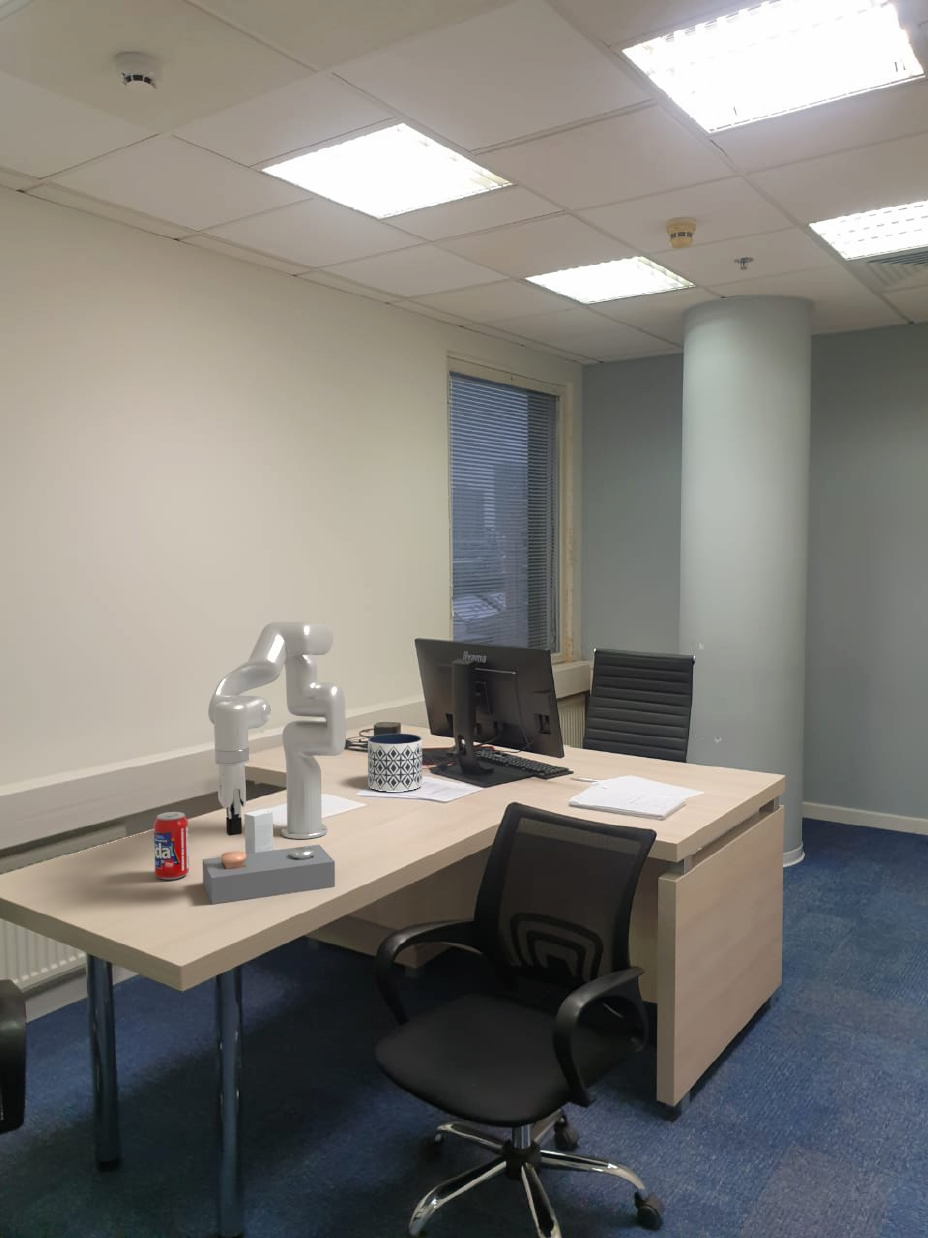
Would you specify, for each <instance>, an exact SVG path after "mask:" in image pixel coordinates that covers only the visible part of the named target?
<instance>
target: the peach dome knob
mask: <svg viewBox="0 0 928 1238" xmlns="http://www.w3.org/2000/svg"><path fill="white" fill-rule="evenodd" d="M220 857H221V862H222V863H223V866H224V868H225V869H232V868H239V867H244V861H246V853H245V852H244V851H239V850H238V851H237V850H235V851H227V852H224V853H223V854H221V856H220Z"/></svg>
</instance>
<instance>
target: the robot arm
mask: <svg viewBox="0 0 928 1238" xmlns="http://www.w3.org/2000/svg"><path fill="white" fill-rule="evenodd" d="M333 644H334V635H333V631H332V629H331V626H329V625H328V624H326V623H324V622H323V623H320V622H312V621H311V622H309V621H308V622H307V621H273V622H269V623H267V624H266V625H265V626H264V627H263V629H262V630H261V632H260V634H259V636H258V639H257V640H256V644H255V645H254V648H253V650H252V652H251V654H250V656H249V658H248V659H247V660H248V661H246V662H244V663H243V664H241V665H239V666H238V667H236V668H235V669H232V671H231V672H229V673H227V674H226V675H225V676H224V677H223V678H222V679H221V680H220V681H219V682H218V684H217V686H216V688H215V689H214V692H213V694H212V696H211V699H210V701H209V704H208V708H207V709H208V711H207V713H208V714H207V715H208V718H209V721H210V722H211V724H212V725H213V726H214V727H213V730H214V731H213V733H214V735H213V736H214V760H215V761H214V764H215V765H217V766H218V774H217V775H218V777H217V778H218V779H217V795H218V796H217V798H218V801H219V803H220V805H221V806H222V807H223V808H224V810H225V811H226V813H225V814H226V817H225V819H226V820H225V822H226V823H225V824H226V826H225V827H226V834H227V835H228V836H229V837H230V836H238V835H242V834H243V826H242V825H243V823H242V821H243V819H242V808H244V807H245V806H246V804H247V798H246V797H247V796H246V795H247V792H246V791H247V790H246V789H247V787H246V785H247V784H246V772H245V771H246V768H245V764H247V763H249V762H250V756H249V755H250V754H249V753H250V751H249V746H250V745H249V730H252V729H259V728H262V726H265V724H267V723H268V721H269V719H270V717H271V714H272V713H271V711H272V709H271V705H270V703H269V702H268V700H267V699H265V698H264V697H261V696H259V695H257V696H256V695H242V694H243V693H246V692H247V691H250V690H253V689H257V688H260V687H263V686H265V685H268V684H271V683H273V682H275V681H276V680H277V679H278V678H279V677H280V676H281V673H282V671H283V668H284V670H285V690H286V694H285V695H286V706H287V710H288V712H289V713H290V714H291V715H293V716H296V717H309V718H310V717H311V718H324V719H325V721H324V720H306V719H305V720H303V719H301V720H293V721H290V722H289V723H287V724H285V726H284V727H283V730H282V735H281V737H282V738H281V739H282V745H283V750H284V757H285V767H286V768H285V770H286V774H285V775H286V825H285V826H284V827H283V828H282V829H281V835H282V836H283V837H285V838H288V839H292V840H293V839H294V840H306V839H314V838H319V837H321V836H324V835H326V834H327V833H328V827H327V825H325V824H323V823H322V821H323V820H322V814H323V813H322V770H321V767H320V764H319V762H318V761H317V759H316V758H315V756H317V757H318V756H319V757H320V756H321V757H337V756H340V755H342V753H344V750H345V748H346V742H347V730H346V728H347V726H346V724H347V723H346V721H347V719H346V698H345V693H344V690H343V688H342V687H341V686H340V685H339V684H337V683H334V682H320V681H319V680H318V671H317V670H318V669H317V668H318V667H317V662H316V659H314V656H325V655H326V654H328V653H329V652H330V651H331V649H332V646H333Z"/></svg>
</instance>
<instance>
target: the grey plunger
mask: <svg viewBox="0 0 928 1238" xmlns="http://www.w3.org/2000/svg"><path fill="white" fill-rule="evenodd" d="M298 847H299V848H297V847H293V848H294V849H292V850H290V857H291V858H293V859H294V860H299V859H308V858H312V857H313V856H314V849H312V848H309V847H304V846H298Z"/></svg>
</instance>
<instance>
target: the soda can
mask: <svg viewBox="0 0 928 1238" xmlns="http://www.w3.org/2000/svg"><path fill="white" fill-rule="evenodd" d="M153 843H154V844H153V846H154V847H153V849H154V851H153V852H154V853H153V855H154V875H155V877H157V878H159V879H160V880H163V881H174V880H179V879H182V878H184V876H186V875H187V874H188V873H189V871H190V860H189V859H190V856H189V853H190V851H189V850H190V849H189V820H188V819H187V818H186V814H185V813H183V812H180V811H171V812H170V811H169V812H162V813H160V814H157V815H156V819H155V821H154V822H153Z"/></svg>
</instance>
